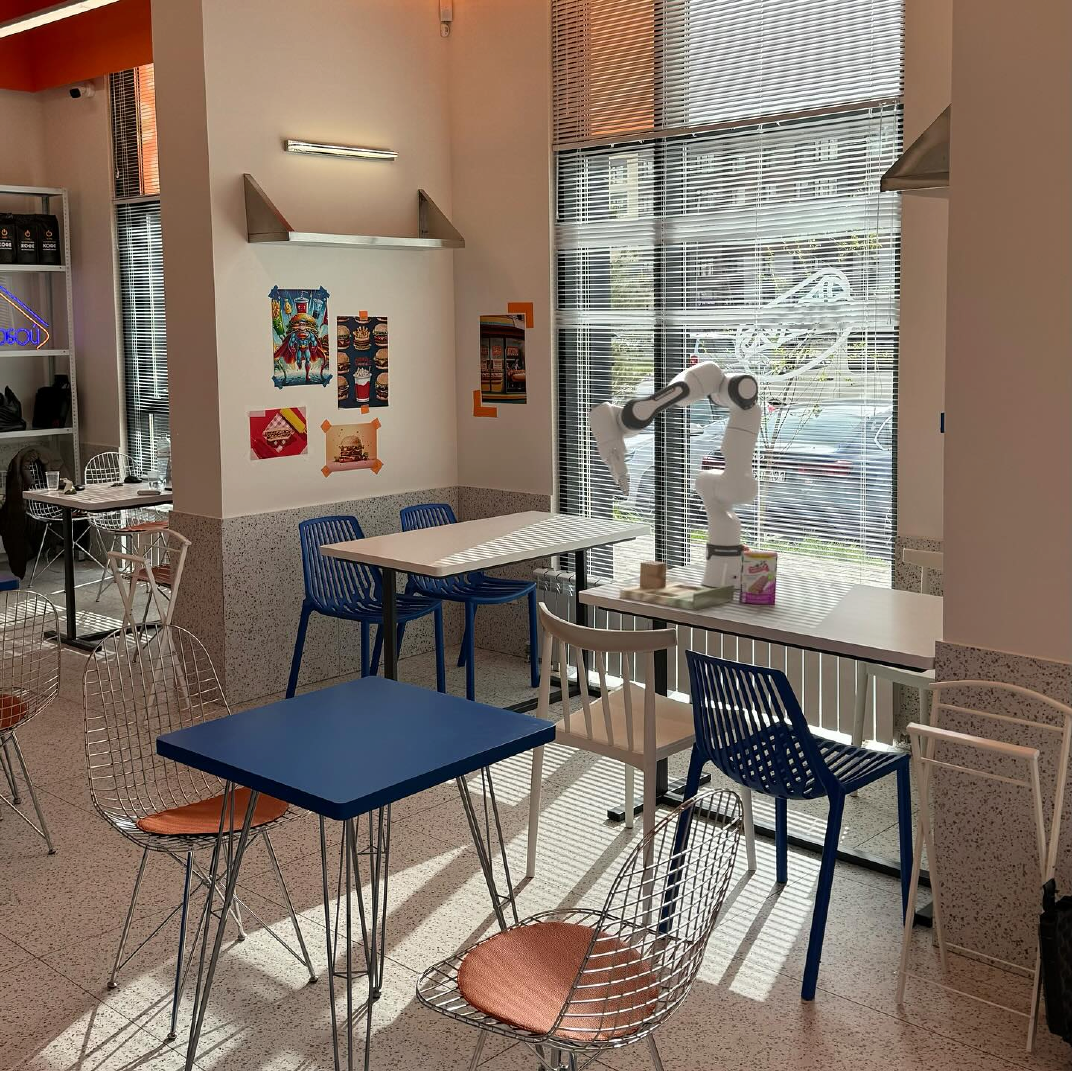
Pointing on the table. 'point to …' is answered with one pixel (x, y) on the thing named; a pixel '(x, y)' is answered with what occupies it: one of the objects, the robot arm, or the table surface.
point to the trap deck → (681, 595)
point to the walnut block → (653, 575)
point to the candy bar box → (758, 577)
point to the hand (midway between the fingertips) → (626, 492)
